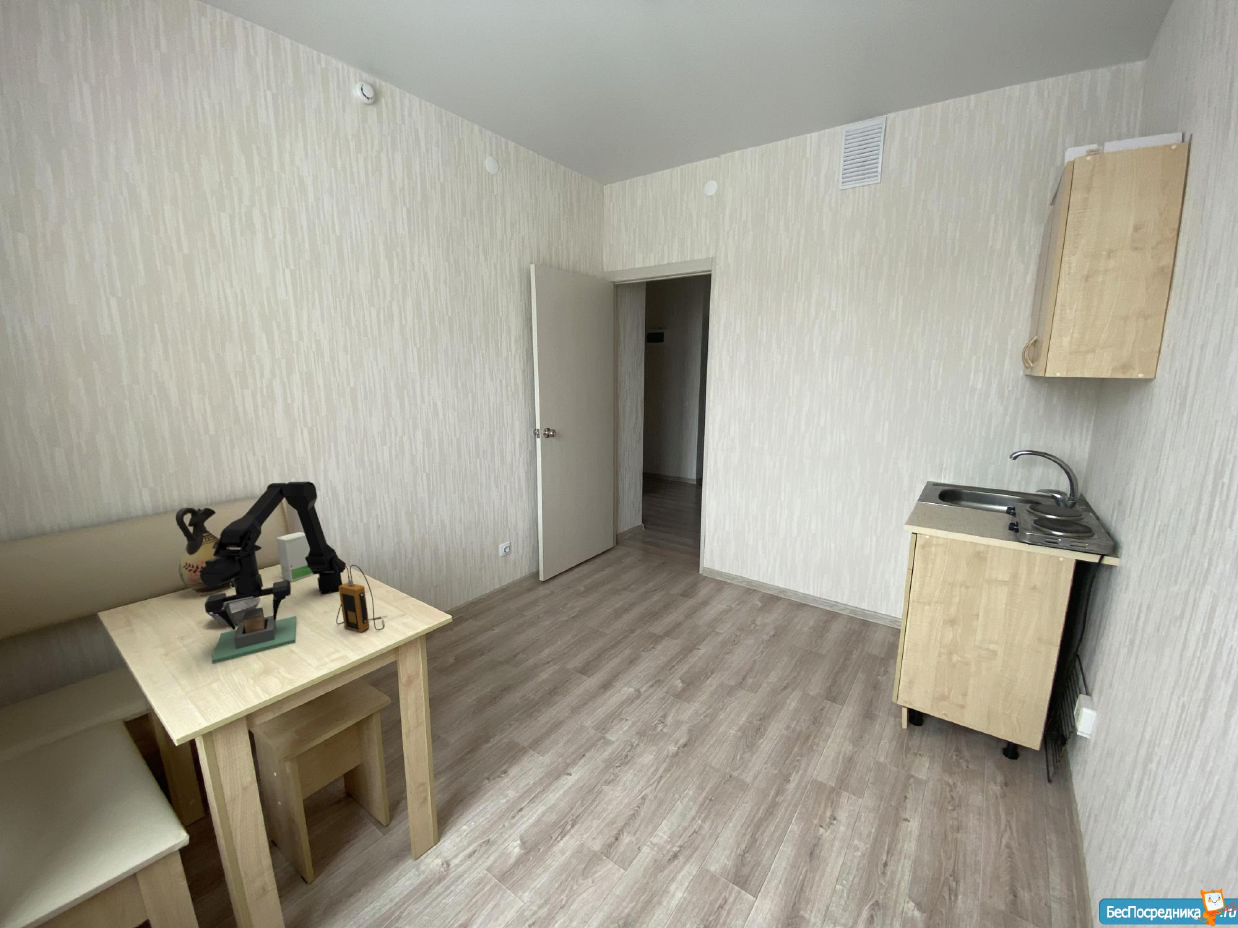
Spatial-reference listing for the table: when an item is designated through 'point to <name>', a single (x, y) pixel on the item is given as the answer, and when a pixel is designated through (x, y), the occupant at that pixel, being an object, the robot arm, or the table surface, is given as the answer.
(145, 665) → the table surface
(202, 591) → the ceramic jug
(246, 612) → the plug
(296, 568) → the skincare box
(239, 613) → the bowl
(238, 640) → the board
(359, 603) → the multimeter
